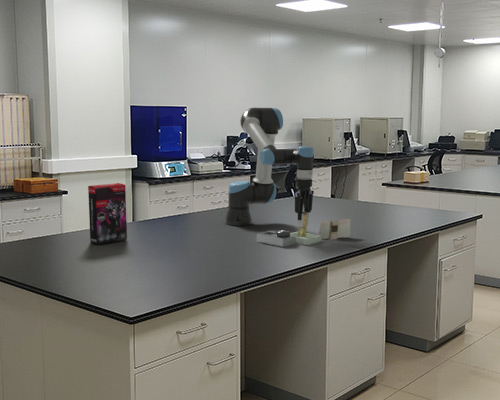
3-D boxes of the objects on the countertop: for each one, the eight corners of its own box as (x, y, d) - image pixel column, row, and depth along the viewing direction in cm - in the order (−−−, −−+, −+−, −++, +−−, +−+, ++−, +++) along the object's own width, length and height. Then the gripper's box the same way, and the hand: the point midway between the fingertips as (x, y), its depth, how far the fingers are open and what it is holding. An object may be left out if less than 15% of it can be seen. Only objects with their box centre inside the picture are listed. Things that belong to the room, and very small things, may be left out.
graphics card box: (96, 245, 280) (95, 187, 275) (88, 243, 284) (87, 185, 280) (127, 240, 292) (127, 184, 288) (118, 238, 297) (118, 182, 292)
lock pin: (297, 236, 299) (298, 212, 297) (301, 235, 301) (302, 211, 299) (303, 237, 296) (304, 212, 295) (307, 236, 299) (308, 212, 297)
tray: (283, 240, 299) (283, 234, 299) (298, 237, 308) (298, 231, 308) (306, 245, 290) (307, 239, 290) (321, 241, 299) (321, 235, 299)
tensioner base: (256, 241, 296) (256, 228, 295) (269, 238, 304) (269, 225, 303) (282, 247, 286) (283, 233, 285) (295, 243, 293) (295, 230, 292)
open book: (353, 247, 307) (353, 224, 316) (350, 237, 301) (351, 213, 310) (321, 249, 312) (322, 226, 321) (317, 239, 306) (319, 216, 315)
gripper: (300, 180, 286) (299, 229, 289) (320, 177, 298) (318, 224, 302) (288, 178, 291) (286, 227, 294) (308, 176, 303) (306, 222, 307)
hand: (302, 225), depth 298 cm, fingers closed on lock pin, 3 cm apart
